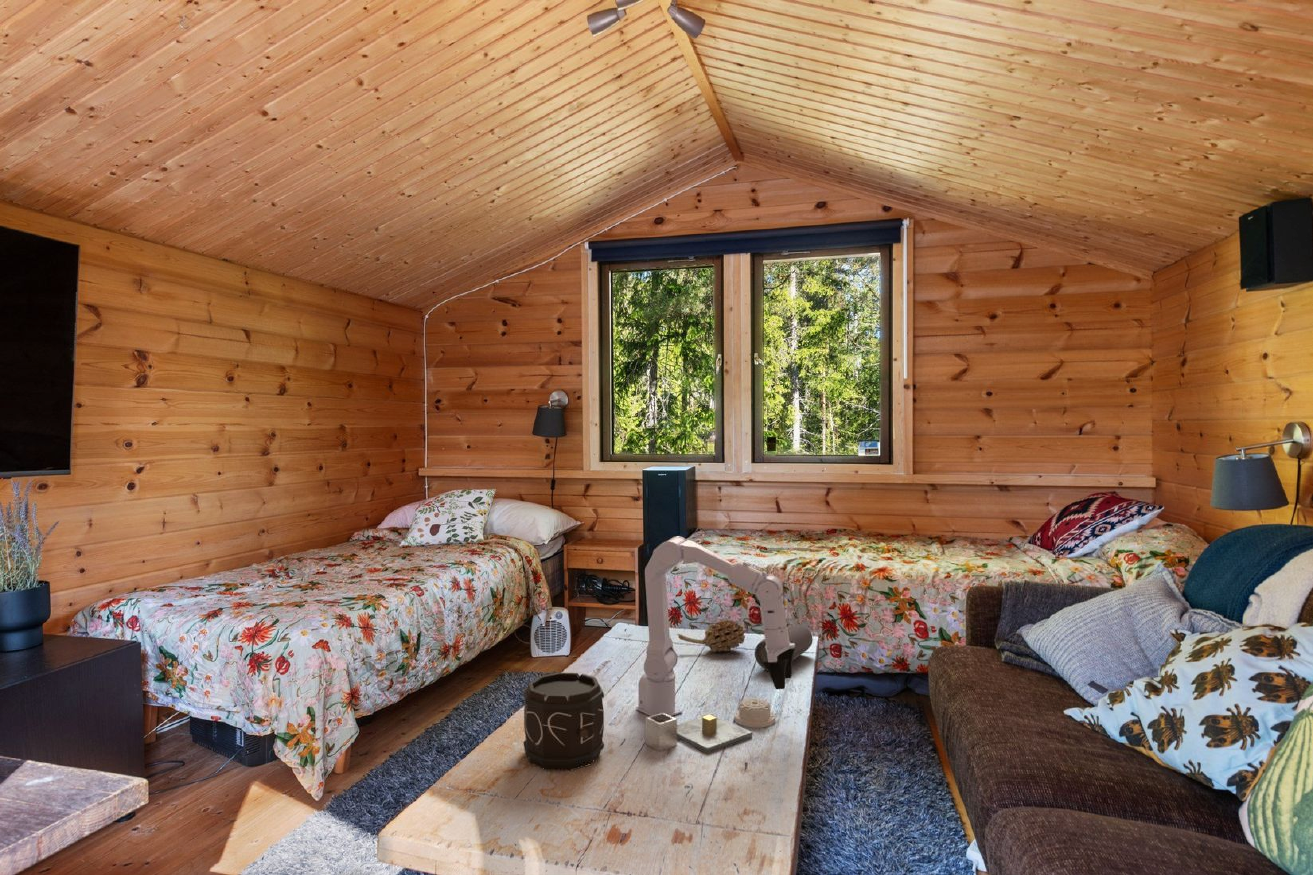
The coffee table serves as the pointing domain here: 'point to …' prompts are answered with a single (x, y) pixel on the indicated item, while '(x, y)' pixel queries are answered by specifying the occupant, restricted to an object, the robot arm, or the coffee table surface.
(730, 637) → the pine cone
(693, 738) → the post plate
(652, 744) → the collar
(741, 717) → the mechanical component
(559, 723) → the wooden barrel
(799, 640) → the bluetooth speaker
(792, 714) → the coffee table surface
